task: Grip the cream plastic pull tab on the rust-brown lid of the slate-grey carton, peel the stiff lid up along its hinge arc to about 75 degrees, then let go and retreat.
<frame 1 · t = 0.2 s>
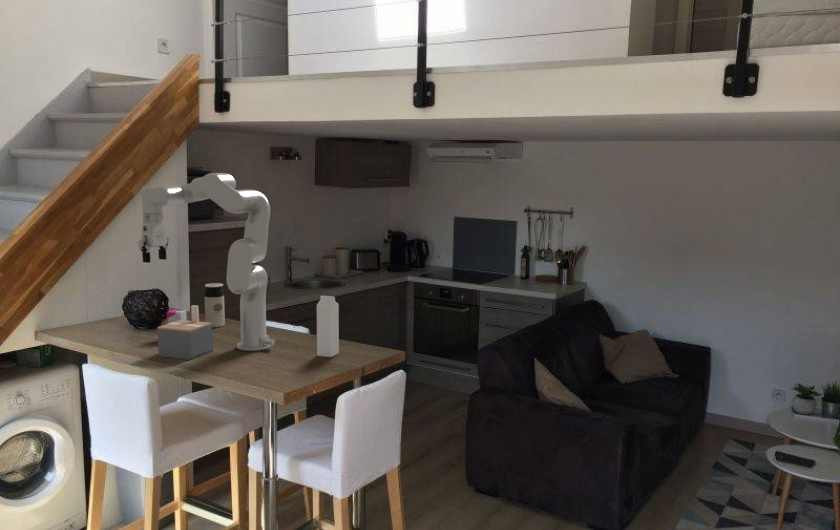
hand: (154, 260, 278), 31 cm above the table, fingers open, 9 cm apart
milk: (328, 354, 260), on the table
travel mug: (215, 326, 303), on the table
carton: (186, 353, 258), on the table
lid: (184, 318, 257), point 13 cm above the table, hinge at 0.0°
supplement box: (177, 339, 280), on the table
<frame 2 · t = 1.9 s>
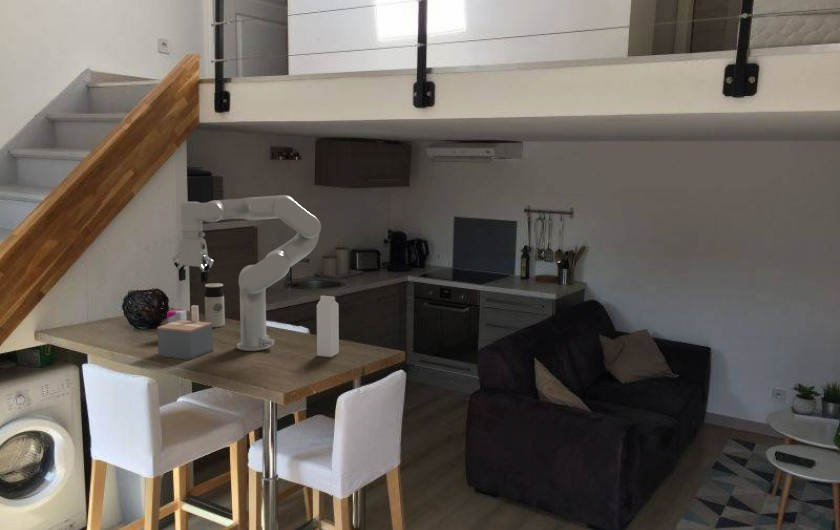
hand: (193, 281, 260), 26 cm above the table, fingers open, 9 cm apart
nothing on the table moved.
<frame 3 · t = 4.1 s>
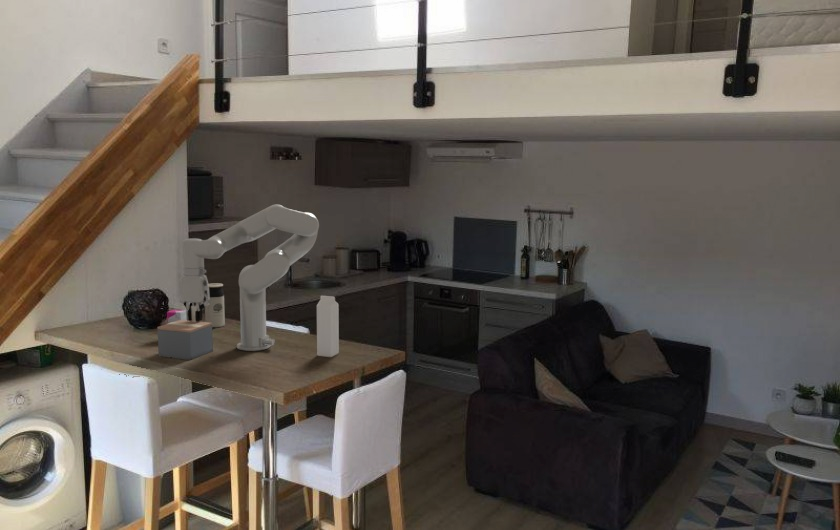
hand: (195, 320, 262), 11 cm above the table, fingers closed on lid, 2 cm apart
lid: (184, 318, 257), point 13 cm above the table, hinge at 0.0°, touching gripper
everything else where it was.
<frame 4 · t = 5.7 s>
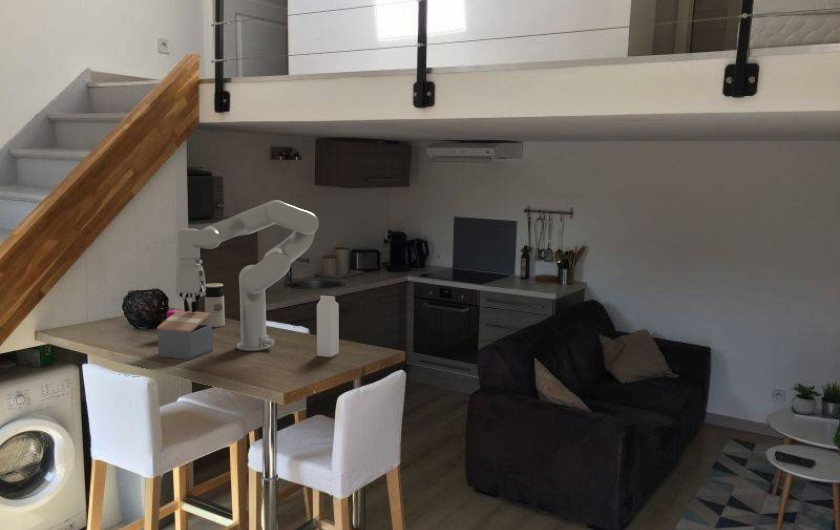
hand: (191, 310, 260), 15 cm above the table, fingers closed on lid, 2 cm apart
lid: (182, 313, 255), point 15 cm above the table, hinge at 18.0°, touching gripper
everything else where it was.
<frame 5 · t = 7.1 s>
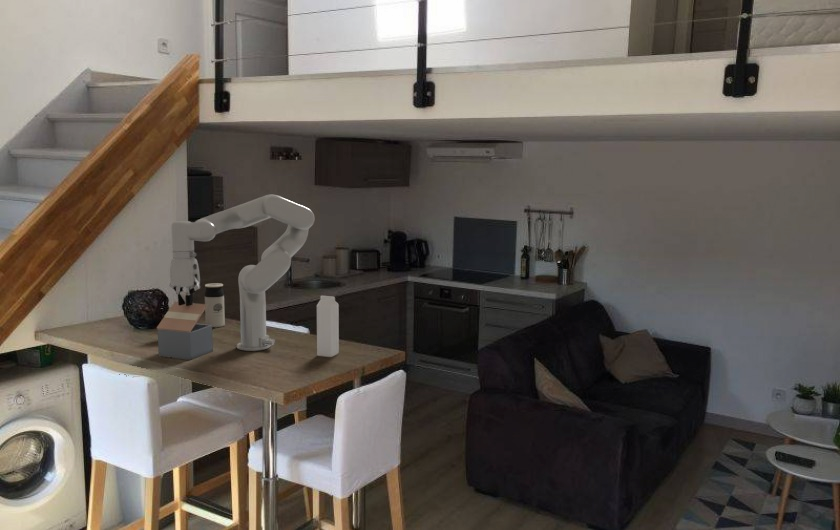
hand: (185, 304, 257), 18 cm above the table, fingers closed on lid, 2 cm apart
lid: (178, 311, 253), point 17 cm above the table, hinge at 36.4°, touching gripper
everything else where it was.
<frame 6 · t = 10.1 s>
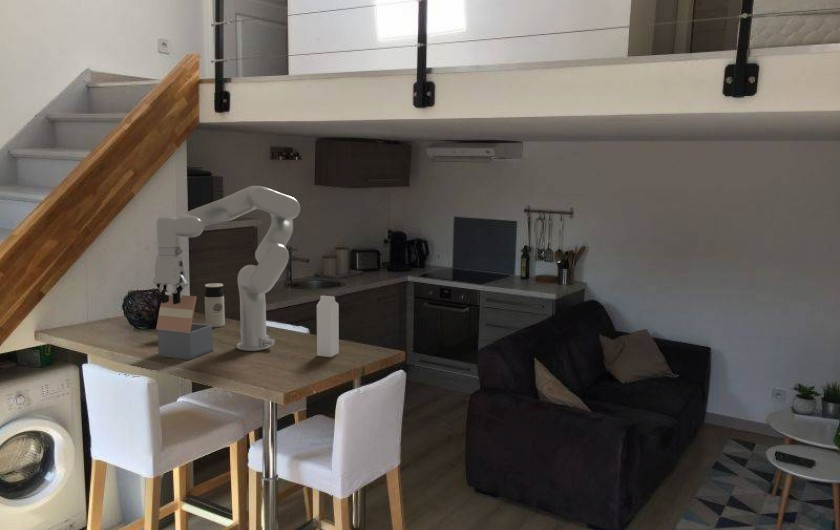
hand: (171, 302, 249), 20 cm above the table, fingers open, 4 cm apart
lid: (171, 311, 249), point 17 cm above the table, hinge at 70.1°
everything else where it was.
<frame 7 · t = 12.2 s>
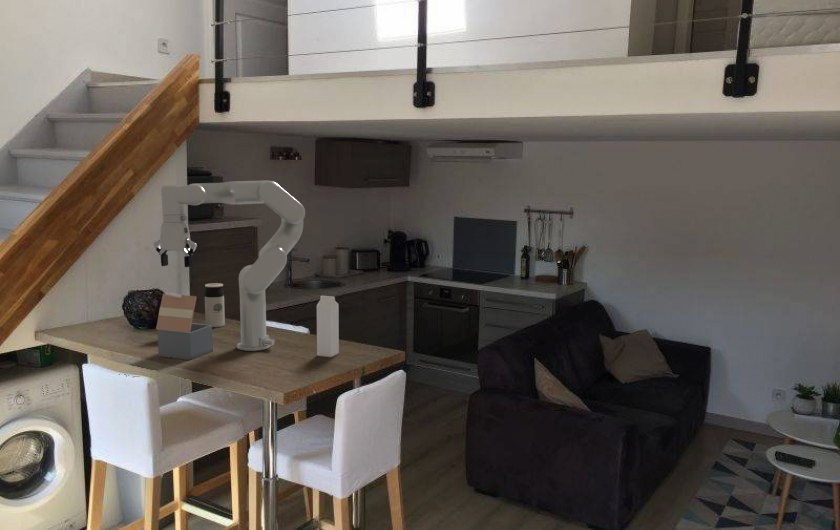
hand: (176, 266, 255), 32 cm above the table, fingers open, 9 cm apart
nothing on the table moved.
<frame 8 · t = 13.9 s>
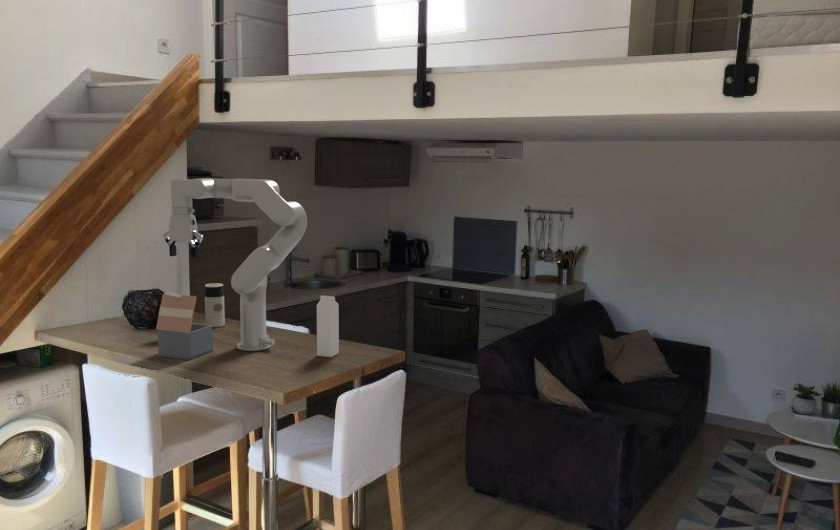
hand: (183, 256, 267), 34 cm above the table, fingers open, 9 cm apart
nothing on the table moved.
at the end: lid at +70° (first picture: +0°); the gripper is holding nothing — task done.
